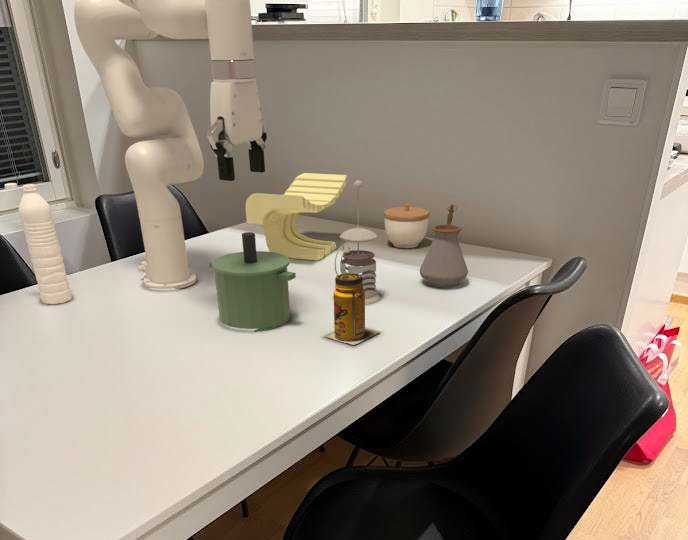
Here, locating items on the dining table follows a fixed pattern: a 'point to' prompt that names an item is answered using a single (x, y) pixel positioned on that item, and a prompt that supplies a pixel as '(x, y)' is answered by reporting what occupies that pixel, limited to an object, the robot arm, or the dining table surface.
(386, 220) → the lidded bowl
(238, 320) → the chamber
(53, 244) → the water bottle
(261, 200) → the slatted curved stool
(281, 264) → the lid
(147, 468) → the dining table surface
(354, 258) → the french press
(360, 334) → the condiment
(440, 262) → the coffee pot
